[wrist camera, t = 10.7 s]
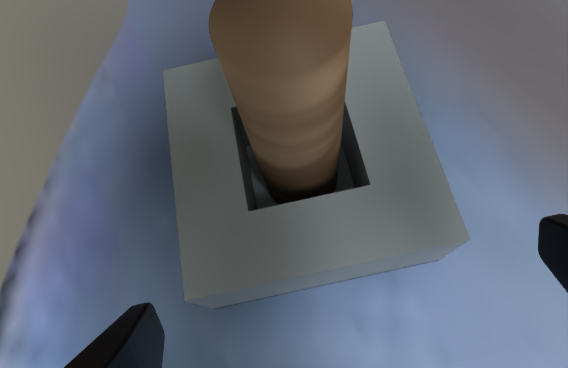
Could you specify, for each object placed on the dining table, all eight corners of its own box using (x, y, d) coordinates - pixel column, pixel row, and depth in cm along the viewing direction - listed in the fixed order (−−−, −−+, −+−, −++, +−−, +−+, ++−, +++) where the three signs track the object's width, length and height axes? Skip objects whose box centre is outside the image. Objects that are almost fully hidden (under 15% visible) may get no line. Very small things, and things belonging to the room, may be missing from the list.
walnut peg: (319, 223, 23) (316, 95, 11) (253, 194, 24) (182, 48, 12) (348, 160, 24) (374, -17, 12) (284, 136, 25) (249, -51, 13)
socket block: (438, 260, 22) (470, 239, 17) (213, 308, 22) (184, 301, 17) (373, 75, 27) (384, 20, 22) (190, 116, 27) (162, 70, 22)
